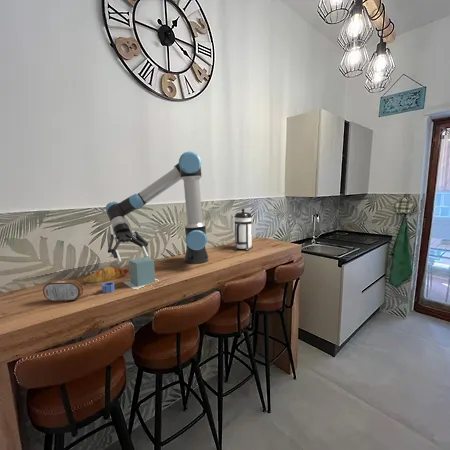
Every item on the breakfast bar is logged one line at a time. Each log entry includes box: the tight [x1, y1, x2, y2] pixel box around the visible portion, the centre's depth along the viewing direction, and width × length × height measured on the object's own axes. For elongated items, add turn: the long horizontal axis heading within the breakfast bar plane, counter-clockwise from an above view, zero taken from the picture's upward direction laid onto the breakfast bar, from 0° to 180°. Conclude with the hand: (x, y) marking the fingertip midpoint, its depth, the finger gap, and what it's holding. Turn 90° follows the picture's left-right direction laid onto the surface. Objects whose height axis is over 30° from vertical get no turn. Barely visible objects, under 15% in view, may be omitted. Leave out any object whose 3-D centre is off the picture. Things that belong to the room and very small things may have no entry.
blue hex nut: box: [101, 281, 116, 294], centre depth 116 cm, size 5×5×4 cm
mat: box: [122, 277, 159, 290], centre depth 127 cm, size 14×14×1 cm
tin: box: [42, 279, 84, 301], centre depth 108 cm, size 15×3×8 cm, turn 92°
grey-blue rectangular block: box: [128, 256, 156, 287], centre depth 126 cm, size 9×9×11 cm
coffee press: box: [233, 208, 253, 252], centre depth 191 cm, size 17×16×30 cm
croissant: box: [82, 265, 129, 284], centre depth 133 cm, size 21×10×8 cm, turn 128°
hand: (134, 260), depth 129 cm, fingers open, 13 cm apart
